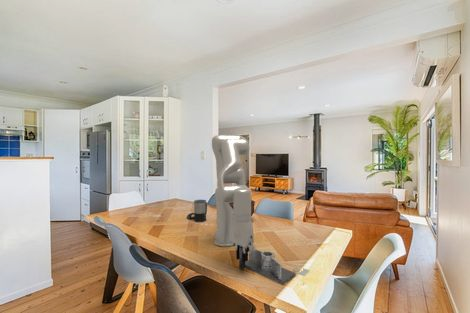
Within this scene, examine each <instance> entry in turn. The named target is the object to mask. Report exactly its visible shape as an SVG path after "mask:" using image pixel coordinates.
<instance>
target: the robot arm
mask: <svg viewBox="0 0 470 313" xmlns="http://www.w3.org/2000/svg"><path fill="white" fill-rule="evenodd" d="M211 148H212V152H213V155H214V157H215V158H214V159H215V162H216V163H215V164H216V166H215V168H216V169H215V170H216V179H217V180H216V187H217V188H215V189H214V190H215V191H214V195H215V196H214V197H215V198H214V199H215V203H216V205H215V206H216V231H215V232H214V233H213V236H214V237H215V239H214V240H213V243H214V245H216V246H217V247H223V248H224V247H231V246H234V249H235V252H236V255H235V256H236V257H235V259H236V260H237V261H239V246H242V247H243V253H242V262H243V263H244V262H246V261H248V260H249V251H250V250H253V249H255V245H254V240H255V238H254V236H255V235H254V225H253V221H252V216H251V200H252V190H251V189H250V188H248V186H247V184H246V174H245V173H246V172H245V170H244V168H243V167H242V162H241V157H240V156H245V155H248V154H249V152H250V144H249V141H248V139H246V138H245V137H244V136H243V135H239V134H217V135H214V136H213V137H212V138H211ZM225 184H229V185H225ZM230 184H231V185H230ZM232 184H233V185H232ZM229 203H233V208H232V207H231V206H230V205H229Z"/></svg>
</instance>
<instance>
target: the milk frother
mask: <svg viewBox="0 0 470 313" xmlns="http://www.w3.org/2000/svg"><path fill="white" fill-rule="evenodd" d="M207 203H208V202H207V200H206V199H195V200H193V204H194V205H193V208H194V209H193V211H194V212H191V213H189V214H187V215H186V218H187V220H188V219H189V220H193V221H194V222H196V223H203V222H206V221H207V211H208V204H207ZM192 215H193V217H192Z"/></svg>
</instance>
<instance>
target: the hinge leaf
mask: <svg viewBox="0 0 470 313" xmlns="http://www.w3.org/2000/svg"><path fill="white" fill-rule="evenodd" d="M261 264H262V265H264V266H271V272H272V273H273V274H274V275H275V276H276V277H277V278H278V279H280V280H281V267H282V263H281V262H279V261H278V260H276V259H274V258H273V257H271V261H264V260H262V259H261Z"/></svg>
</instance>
